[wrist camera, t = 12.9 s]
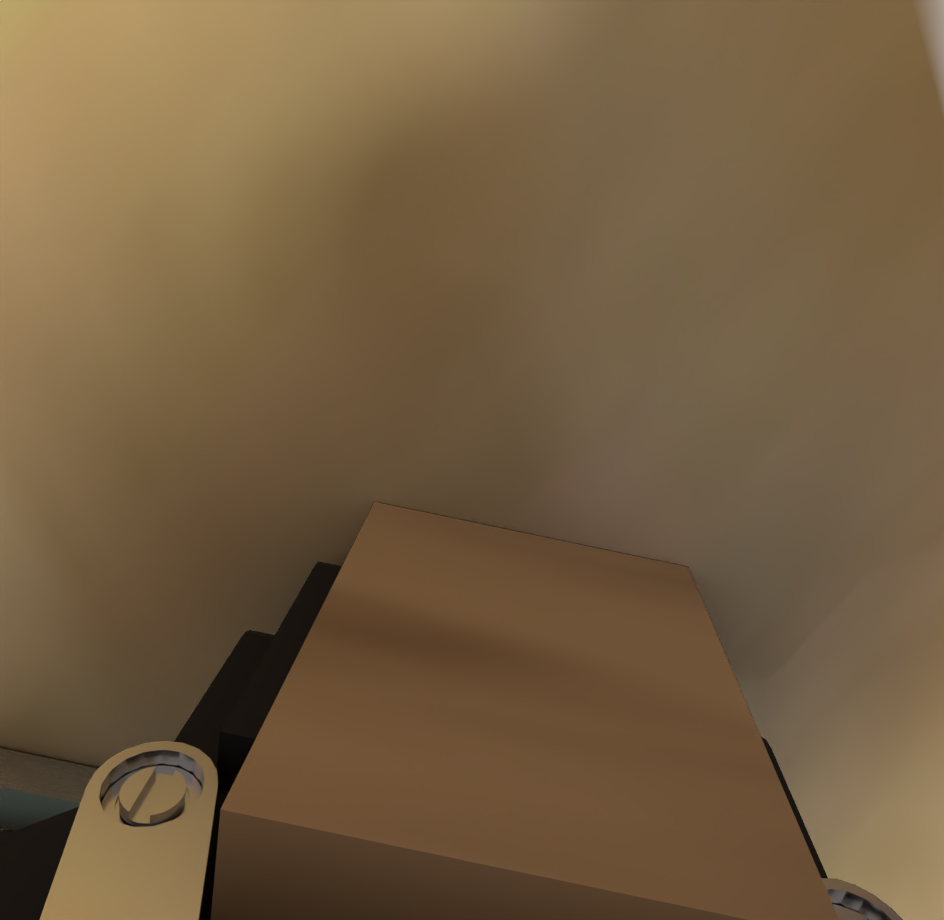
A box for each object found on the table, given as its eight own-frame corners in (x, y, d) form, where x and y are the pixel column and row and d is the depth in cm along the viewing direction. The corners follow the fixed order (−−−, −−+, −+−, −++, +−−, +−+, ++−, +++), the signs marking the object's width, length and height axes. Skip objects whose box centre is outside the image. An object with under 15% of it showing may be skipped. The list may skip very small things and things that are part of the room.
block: (606, 805, 13) (665, 1271, 7) (335, 749, 13) (187, 1171, 7) (688, 567, 11) (848, 941, 6) (374, 502, 11) (219, 809, 6)
